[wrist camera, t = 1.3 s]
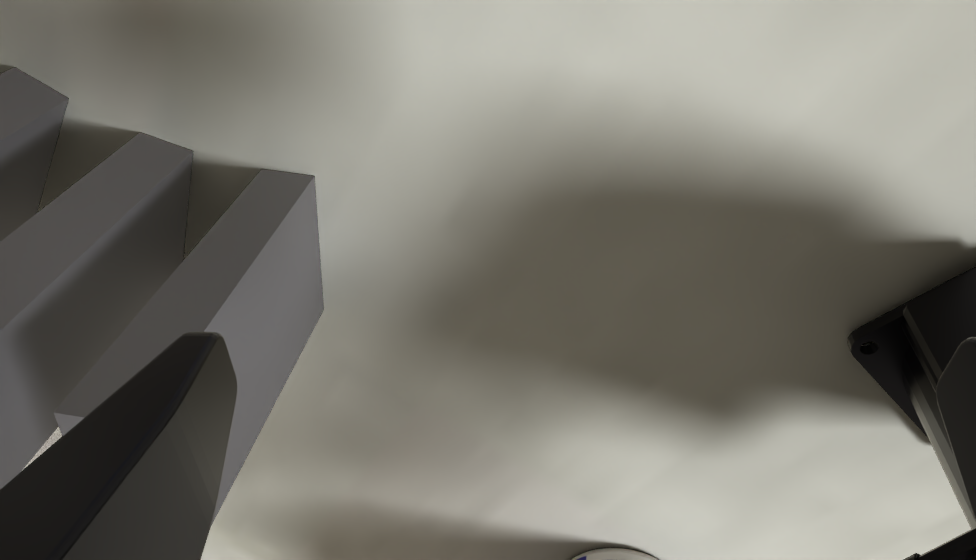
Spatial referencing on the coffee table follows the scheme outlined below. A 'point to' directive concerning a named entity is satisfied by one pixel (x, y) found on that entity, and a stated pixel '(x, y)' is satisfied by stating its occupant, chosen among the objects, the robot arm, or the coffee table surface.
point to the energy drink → (613, 555)
